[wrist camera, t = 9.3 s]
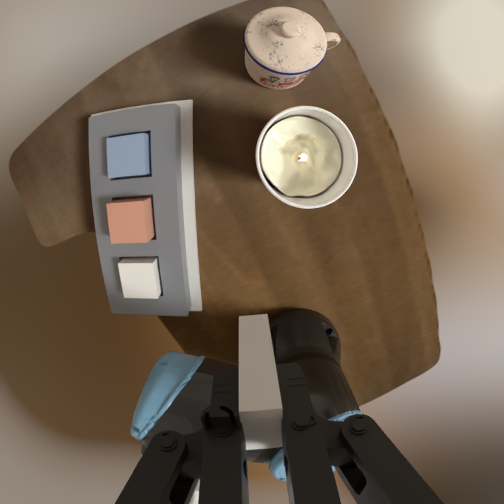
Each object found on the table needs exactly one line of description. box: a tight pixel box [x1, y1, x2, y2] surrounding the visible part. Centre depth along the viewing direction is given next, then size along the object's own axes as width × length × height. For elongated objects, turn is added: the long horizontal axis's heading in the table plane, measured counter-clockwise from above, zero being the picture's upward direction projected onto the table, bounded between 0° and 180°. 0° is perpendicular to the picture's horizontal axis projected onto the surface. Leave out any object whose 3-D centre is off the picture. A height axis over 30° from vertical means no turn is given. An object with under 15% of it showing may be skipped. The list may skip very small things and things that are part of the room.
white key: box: [118, 256, 163, 299], centre depth 37 cm, size 5×5×3 cm
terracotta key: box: [106, 197, 154, 244], centre depth 33 cm, size 5×5×3 cm
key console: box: [89, 100, 202, 316], centre depth 36 cm, size 30×15×4 cm, turn 0°
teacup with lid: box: [243, 7, 340, 90], centre depth 26 cm, size 12×9×12 cm
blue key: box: [107, 133, 152, 178], centre depth 32 cm, size 5×5×3 cm
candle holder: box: [255, 106, 358, 209], centre depth 31 cm, size 10×10×12 cm
